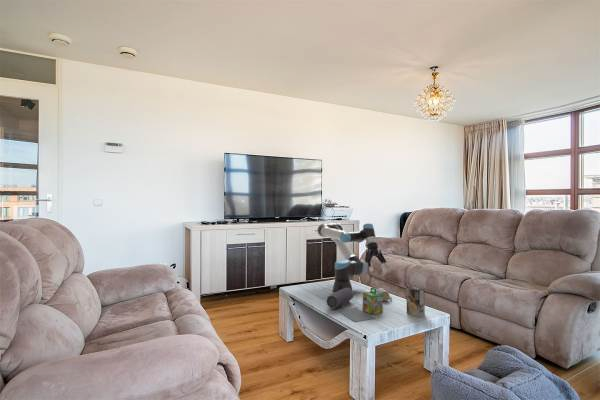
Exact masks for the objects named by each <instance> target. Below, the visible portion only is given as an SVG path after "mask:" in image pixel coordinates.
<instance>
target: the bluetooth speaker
mask: <svg viewBox="0 0 600 400" xmlns="http://www.w3.org/2000/svg"><path fill="white" fill-rule="evenodd" d="M353 298H354V292H353V289H352V290H351V289H350V288H344V289H341V290H339V291H337V292H333V293H331V294H330V295H329V296H328V297H327V298H326V305H327V306H328V307H329V308H330V309H337V308H338V309H339V308H342V307H344V306H345V305H346V304H347V303H348V302H349V301H351V300H352V299H353Z"/></svg>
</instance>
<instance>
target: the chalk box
mask: <svg viewBox="0 0 600 400" xmlns="http://www.w3.org/2000/svg"><path fill="white" fill-rule="evenodd" d="M376 290H377V288H375V287H373V286H371V288H370V290H369V291H366V292H362V311H363V312H365V313H367V314H369V315H371V316H373V315H377V314H380V313H383V312H384V311H383V310H384V309H383V308H384V307H383V305H384V304H383V302H384V301H383V295H382V294H381V293H378V292H376Z"/></svg>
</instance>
